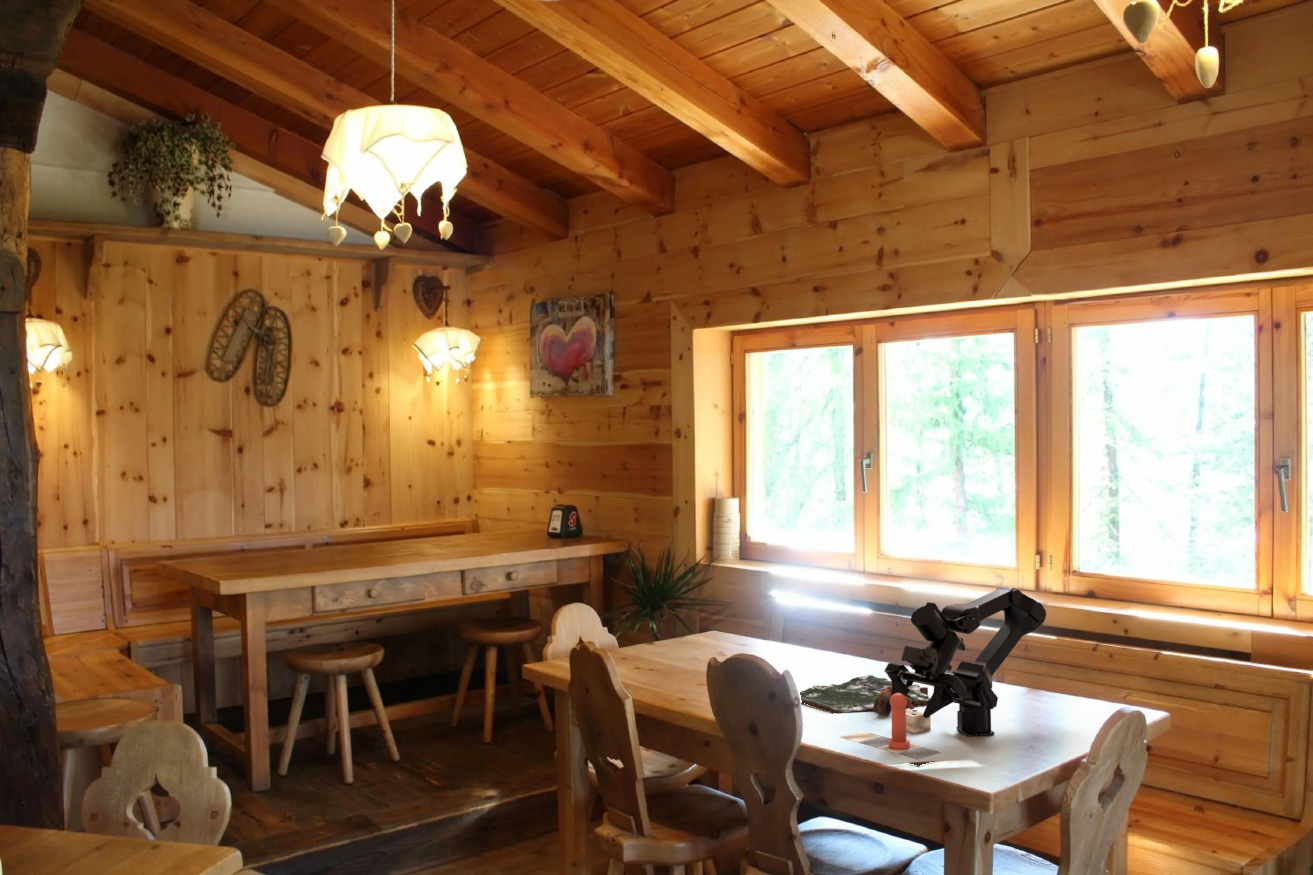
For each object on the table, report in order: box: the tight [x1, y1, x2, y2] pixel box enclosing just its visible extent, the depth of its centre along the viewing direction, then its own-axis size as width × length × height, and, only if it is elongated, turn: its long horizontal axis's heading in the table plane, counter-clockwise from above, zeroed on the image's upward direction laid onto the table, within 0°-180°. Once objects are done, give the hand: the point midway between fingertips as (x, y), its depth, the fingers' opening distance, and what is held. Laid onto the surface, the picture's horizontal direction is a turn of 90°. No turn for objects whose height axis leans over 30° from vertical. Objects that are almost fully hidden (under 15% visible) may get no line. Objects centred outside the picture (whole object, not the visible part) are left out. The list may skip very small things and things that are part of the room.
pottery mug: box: [871, 686, 916, 716], centre depth 251 cm, size 12×10×8 cm
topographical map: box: [799, 674, 931, 715], centre depth 269 cm, size 26×33×3 cm
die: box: [906, 708, 932, 734], centre depth 236 cm, size 5×5×5 cm
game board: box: [840, 730, 942, 767], centre depth 224 cm, size 23×9×1 cm, turn 37°
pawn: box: [888, 693, 911, 751], centre depth 222 cm, size 4×4×12 cm
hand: (907, 712), depth 223 cm, fingers open, 9 cm apart
